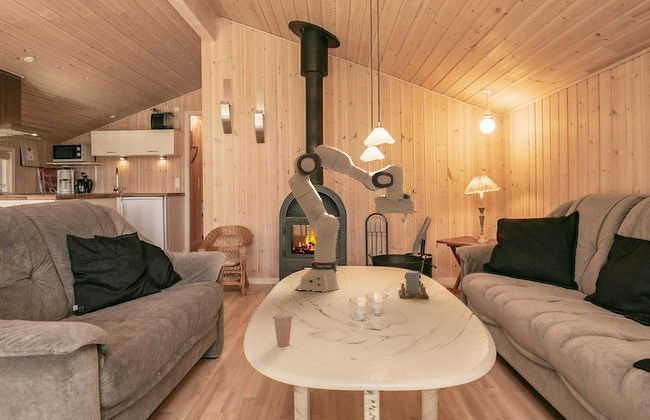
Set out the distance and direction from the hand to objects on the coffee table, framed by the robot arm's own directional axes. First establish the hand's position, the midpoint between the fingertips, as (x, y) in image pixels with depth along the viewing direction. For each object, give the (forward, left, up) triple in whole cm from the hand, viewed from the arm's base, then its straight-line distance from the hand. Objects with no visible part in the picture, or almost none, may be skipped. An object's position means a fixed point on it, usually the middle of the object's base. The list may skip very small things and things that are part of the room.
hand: (394, 222), depth 223 cm
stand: (+8, -21, -34) cm, 41 cm away
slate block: (+8, -21, -33) cm, 40 cm away
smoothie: (-39, -95, -34) cm, 108 cm away
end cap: (+10, +4, -35) cm, 36 cm away
